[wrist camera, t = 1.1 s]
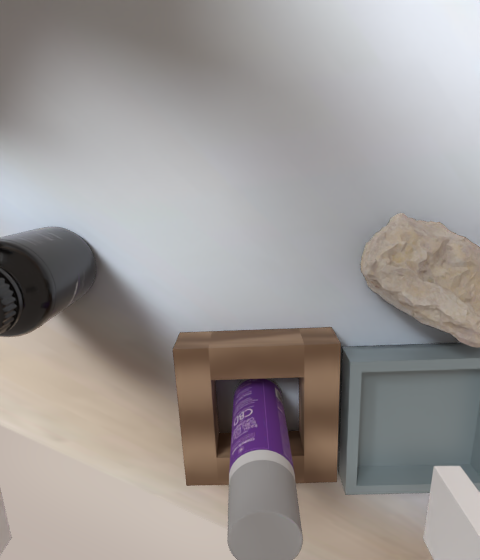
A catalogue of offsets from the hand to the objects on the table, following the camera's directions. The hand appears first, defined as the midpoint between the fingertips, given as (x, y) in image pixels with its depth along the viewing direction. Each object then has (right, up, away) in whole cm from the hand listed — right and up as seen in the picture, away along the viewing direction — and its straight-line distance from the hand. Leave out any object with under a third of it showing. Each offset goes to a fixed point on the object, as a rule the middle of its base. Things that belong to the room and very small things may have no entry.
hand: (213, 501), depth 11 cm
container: (+3, -4, +25) cm, 26 cm away
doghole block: (+3, -5, +25) cm, 26 cm away
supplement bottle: (-15, +8, +22) cm, 28 cm away
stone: (+17, +8, +22) cm, 29 cm away
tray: (+18, -6, +25) cm, 31 cm away
